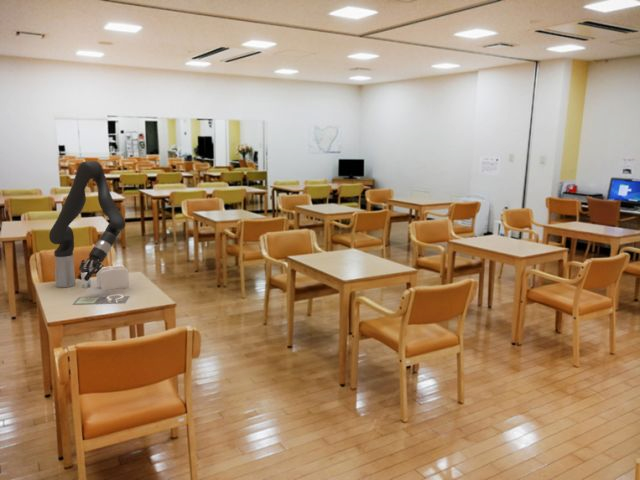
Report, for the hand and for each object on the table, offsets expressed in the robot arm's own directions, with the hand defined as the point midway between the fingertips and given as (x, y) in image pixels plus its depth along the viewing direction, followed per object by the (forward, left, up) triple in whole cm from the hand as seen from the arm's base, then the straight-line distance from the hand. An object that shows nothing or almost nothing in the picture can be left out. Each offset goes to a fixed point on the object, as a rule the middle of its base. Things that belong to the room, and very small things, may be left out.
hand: (82, 279), depth 266 cm
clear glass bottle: (+1, +2, -5) cm, 5 cm away
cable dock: (+8, +2, -13) cm, 15 cm away
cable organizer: (+8, +27, -13) cm, 31 cm away
